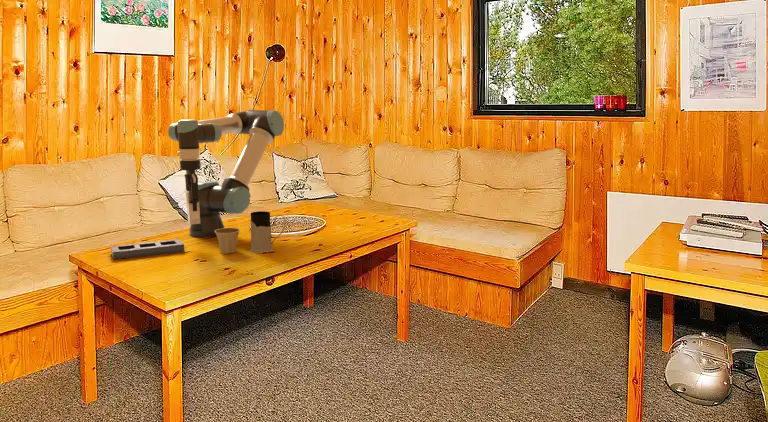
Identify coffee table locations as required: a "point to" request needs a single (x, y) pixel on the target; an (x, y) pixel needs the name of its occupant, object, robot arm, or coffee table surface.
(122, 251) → the dark grey ladder frame
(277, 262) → the coffee table surface
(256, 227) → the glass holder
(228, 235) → the flower pot
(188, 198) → the beige tall block
